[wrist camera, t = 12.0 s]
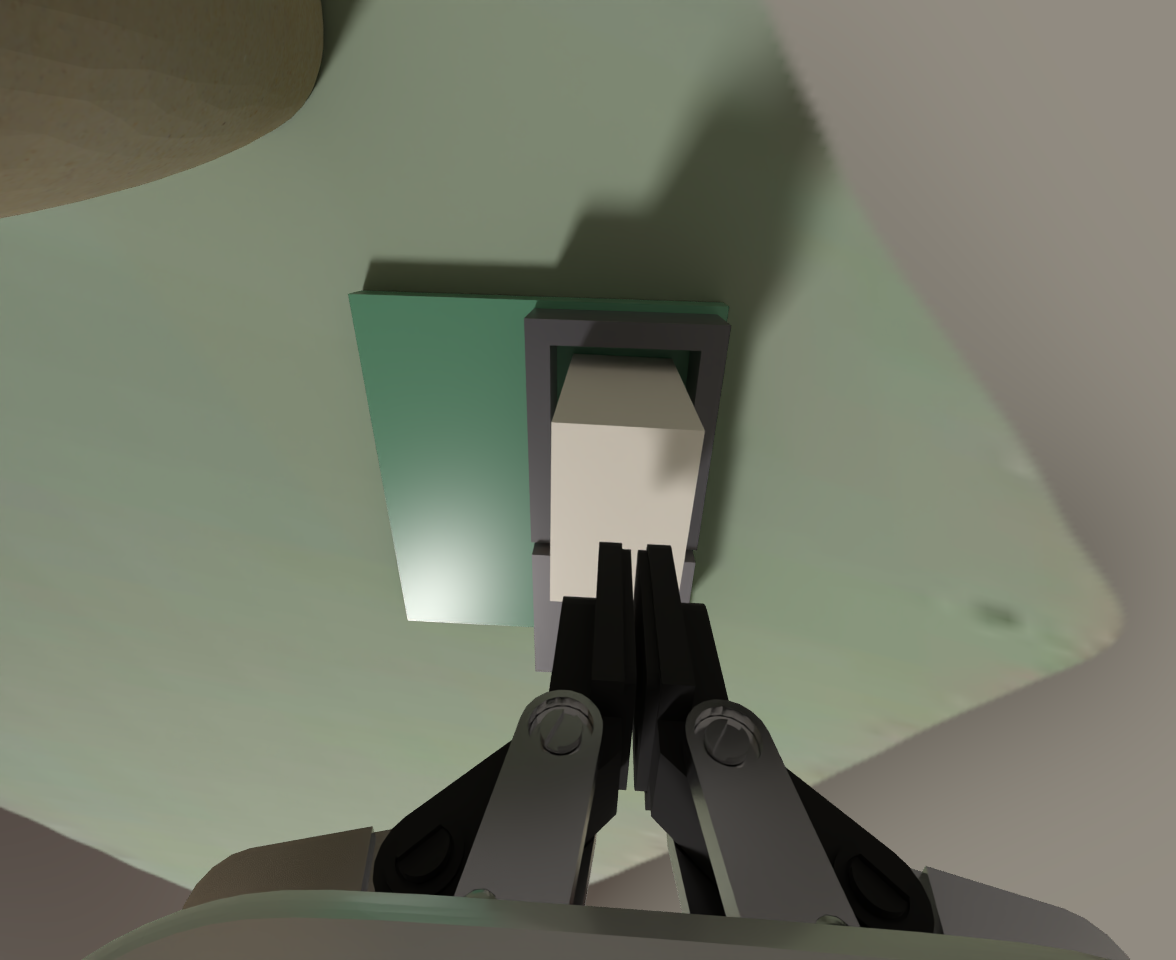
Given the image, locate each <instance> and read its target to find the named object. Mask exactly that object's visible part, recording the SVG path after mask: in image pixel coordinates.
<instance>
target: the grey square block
mask: <svg viewBox="0 0 1176 960" xmlns="http://www.w3.org/2000/svg"><path fill="white" fill-rule="evenodd" d="M694 569H695V559H694V555H693V551H692V550H686V552H685V559H684V565H683V571H682V577H681V584H680V590H679V593H680V599H681V603H689V601H690V595H691V588H692V582H693V575H694ZM532 577H533V609H534V641H535V671H541V672H552V668H553V661H554V654H555V648H556V641H557V634H558V627H559V620H560V614H561V607H562V602H558V601H550V543H535V544H534V548H533V552H532Z"/></svg>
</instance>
